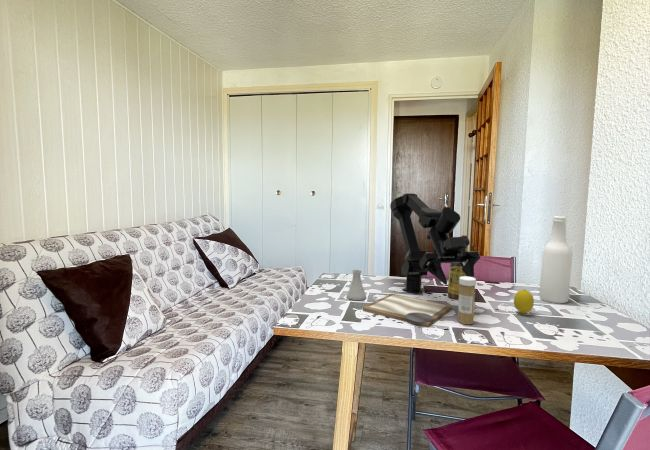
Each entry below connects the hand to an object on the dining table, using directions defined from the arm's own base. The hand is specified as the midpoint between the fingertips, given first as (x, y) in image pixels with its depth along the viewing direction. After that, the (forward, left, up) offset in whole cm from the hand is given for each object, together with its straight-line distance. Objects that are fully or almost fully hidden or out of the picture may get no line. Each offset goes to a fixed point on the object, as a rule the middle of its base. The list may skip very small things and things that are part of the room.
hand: (459, 283), depth 108 cm
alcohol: (-40, +21, -11) cm, 46 cm away
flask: (+3, -35, -11) cm, 37 cm away
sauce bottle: (-21, -7, -11) cm, 25 cm away
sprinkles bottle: (+2, +3, -11) cm, 12 cm away
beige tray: (+3, -15, -11) cm, 19 cm away
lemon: (-17, +15, -11) cm, 25 cm away
